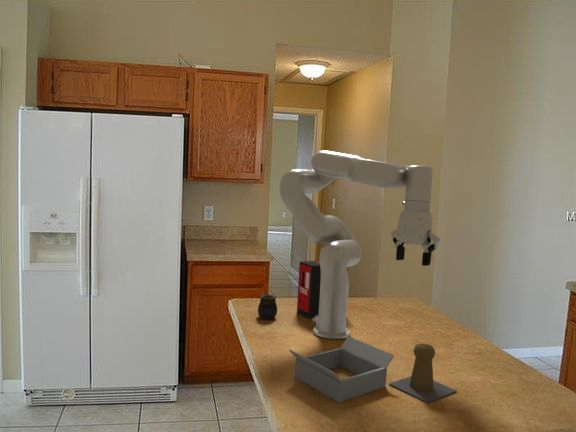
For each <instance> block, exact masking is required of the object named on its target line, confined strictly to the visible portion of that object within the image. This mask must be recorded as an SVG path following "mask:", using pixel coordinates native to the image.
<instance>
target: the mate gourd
mask: <svg viewBox="0 0 576 432" xmlns="http://www.w3.org/2000/svg"><path fill="white" fill-rule="evenodd" d="M276 298H277V297H276V296H274V295H273V294H269V293H268V294H267V293H266V294H262V295H260V299H259V300H260V301H259V304H258V306H257V314H258V317H260V319H262V320H272V319H274V318H276V316H277V313H278V306H277V302H276Z"/></svg>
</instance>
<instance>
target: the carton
mask: <svg viewBox="0 0 576 432" xmlns="http://www.w3.org/2000/svg"><path fill="white" fill-rule="evenodd" d="M288 352H290V353H291V354H292V356H293V357H294V358H295V367H294V368H295V369H294V378H295V379H297V380H299V381H301V382H302V383H304V384H306V385H308V386H310V387H311V388H313V389H314V390H316V391H319V392H320V393H321V394H323V395H325V396H327V397H328V398H330V399H332V400H334V401H335V402H337V403H341V402H344V401H347V400H350V399H353V398H356V397H358V396H362V395H365V394H368V393H371V392H374V391H376V390H377V391H378V390H380V389H383V388H386V385H387V383H386V382H387V374H388V372H387V371H388V367H389V365H390V363H391V362H392V360H393V358H394V357H395V355H394V354H392V353H390V352H387V351H385V350H383V349H380V348H377V347H375V346H373V345H371V344H368V343H366V342H364V341H362V340H358V339H356V338H353V337H351V336H348V337H347V338H345V340H344V341H343V343H342V345H341V346H340V348H335V349H331V350H326V351H322V352H319V353H318V352H317V353H314V354H310V355H309V354H308V355H306V356H305V355H304V356H303V355H302V354H300V353H298V352H296V351H294V350H292V349H288ZM339 367H341V368H343V369H345V370H347V371H349V372H351V373H353V374H355V375H351V376H349V377H346V378H341V379H340V377H339V376H338V375H337V374H336V373H335V372H334V371H333V370H332V369H336V368H339Z"/></svg>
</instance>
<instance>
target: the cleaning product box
mask: <svg viewBox="0 0 576 432" xmlns="http://www.w3.org/2000/svg"><path fill="white" fill-rule="evenodd" d="M298 268H299V269H298V285H297V286H298V287H297V303H296V304H297V305H296V313H297V314H298V315H301V316H302V317H305V318H306V319H309V320H312V319H313V318H315V316H316V315H319V301H320V283H321V269H320V260H308V261H307V260H306V261H299V267H298ZM348 271H349V267H347V272H348Z"/></svg>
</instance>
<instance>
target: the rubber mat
mask: <svg viewBox="0 0 576 432" xmlns="http://www.w3.org/2000/svg"><path fill="white" fill-rule="evenodd" d="M411 376H412V375H411ZM411 376H408V377H405V378H402V379H398V380H396V381H392V382H390V383H388V385H389V386H391V387H393V388H395V389H397V390H398V391H401V392H403V393H405V394H408V395H409V396H412V397H414V398H415V399H417V400H420V401H422V402H424V403H426V404H430V403H432V402H435V401H438V400H440V399H442V398H445V397H448V396H450V395H453V394H456V393H457V391H458V390H456V389H454V388H453V387H450V386H447V385H444V384H442V383H440V382H438V381H436V380H434V379H433V385H434V390H433V391H431V392H421V391H417V390H414V389H412V388H411V387H410V380H411Z"/></svg>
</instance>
